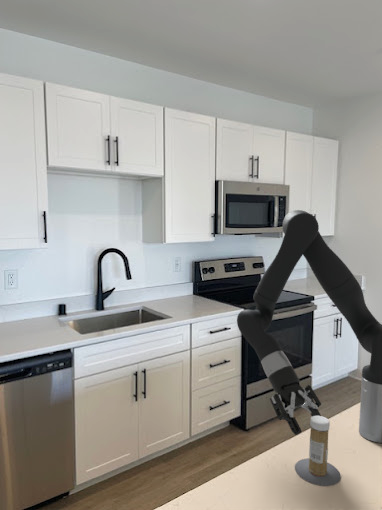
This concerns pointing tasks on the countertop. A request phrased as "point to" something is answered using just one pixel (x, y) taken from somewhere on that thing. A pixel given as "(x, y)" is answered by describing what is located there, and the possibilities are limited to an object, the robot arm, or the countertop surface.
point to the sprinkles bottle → (318, 445)
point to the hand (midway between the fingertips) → (310, 429)
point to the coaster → (326, 480)
